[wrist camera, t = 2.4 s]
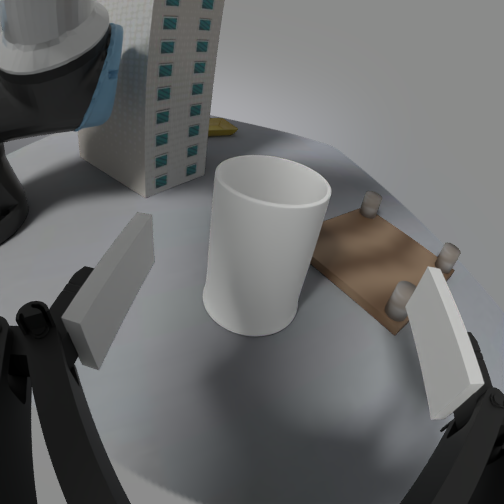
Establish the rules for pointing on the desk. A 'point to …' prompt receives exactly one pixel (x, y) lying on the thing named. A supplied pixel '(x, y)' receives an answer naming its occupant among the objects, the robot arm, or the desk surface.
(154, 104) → the building model
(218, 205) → the mug
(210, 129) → the yellow square slab
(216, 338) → the desk surface
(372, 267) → the board with corner pegs
